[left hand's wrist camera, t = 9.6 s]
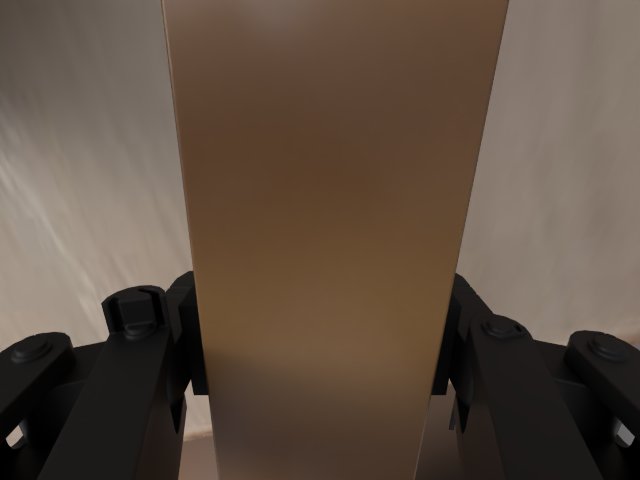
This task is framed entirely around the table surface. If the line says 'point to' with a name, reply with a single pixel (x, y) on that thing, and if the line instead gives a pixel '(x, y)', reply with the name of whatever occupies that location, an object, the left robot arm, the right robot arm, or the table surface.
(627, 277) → the table surface
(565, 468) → the left robot arm
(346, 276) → the brown wooden bar
